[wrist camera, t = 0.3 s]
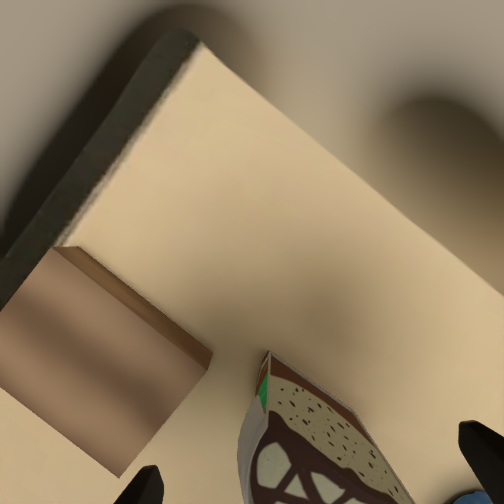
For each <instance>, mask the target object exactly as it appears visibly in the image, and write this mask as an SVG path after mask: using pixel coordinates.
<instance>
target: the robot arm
mask: <svg viewBox="0 0 504 504" xmlns="http://www.w3.org/2000/svg"><path fill="white" fill-rule="evenodd" d="M458 444H459V448H460V450H461V452H462V454H463V456H464V457H465V459H466V460H467V462H468V464H469V465H470V467H471V469H472V470H473V472H474V473H475V475H476V477H477V478H478V480H479V482H480V483H481V485H482V486H483V488H484V490H485V491H486V493H487V494H488V496H489V498H490V499H491V501H492V503H493V504H504V437H503V436H502V435H500V434H498V433H497V432H495V431H493V430H491V429H490V428H488V427H486V426H485V425H483V424H481V423H480V422H478V421H475V420H469V421H462V422H460V423H459V435H458ZM163 495H164V484H163V481H162V478H161V475H160V472H159V469H158V467H157V466H156V465H150V466H144V467H142V468H141V469H140V470H139V472H138V473H137V474H136V475H135V477H134V478H133V479H132V481H131V482H130V483H129V484H128V486H127V487H126V488H125V490H124V491H123V492H122V493H121V495H120V496H119V497H118V498H117V500H116V501H115V502H114V504H162V501H163Z"/></svg>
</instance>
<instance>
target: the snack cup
mask: <svg viewBox="0 0 504 504" xmlns="http://www.w3.org/2000/svg"><path fill="white" fill-rule="evenodd" d="M453 504H493V503H492V501H491V499H490V498H489V496H488V494H487V493H485V492H482V491H475V493H474V494H467V495H464V496H462V497H461V498H458V499H457V500H456V501H455V502H454V503H453Z"/></svg>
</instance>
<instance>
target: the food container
mask: <svg viewBox="0 0 504 504" xmlns="http://www.w3.org/2000/svg"><path fill="white" fill-rule="evenodd" d="M237 461H238V472H239V478H240V484H241V490H242V496H243V500H244V504H415V502H414V501H413V499H412V498H411V496H410V495H409V493H408V492H407V490H406V489H405V487H404V486H403V484H402V483H401V481H400V480H399V478H398V477H397V475H396V474H395V472H394V471H393V469H392V468H391V466H390V465H389V463H388V462H387V460H386V459H385V457H384V456H383V454H382V453H381V451H380V450H379V448H378V447H377V445H376V444H375V442H374V441H373V439H372V438H371V436H370V435H369V433H368V432H367V430H366V429H365V427H364V426H363V424H362V423H361V421H360V420H359V418H358V417H357V415H356V414H355V412H354V411H353V410H352V409H350V408H349V407H348V406H346V405H345V404H343V403H342V402H341V401H339V400H338V399H336V398H335V397H334V396H332V395H331V394H329V393H328V392H327V391H325V390H324V389H322V388H321V387H319V386H318V385H317V384H315V383H314V382H312V381H311V380H310V379H308V378H307V377H305V376H304V375H303V374H301V373H300V372H298V371H297V370H296V369H294V368H293V367H291V366H290V365H289V364H287V363H286V362H284V361H283V360H282V359H280V358H279V357H277V356H276V355H275V354H273V353H272V352H270V351H268V353H267V354H266V356H265V358H264V359H263V361H262V364H261V368H260V371H259V375H258V379H257V387H256V395H255V399H254V401H253V402H252V404H251V406H250V407H249V409H248V411H247V414H246V416H245V418H244V421H243V423H242V427H241V431H240V435H239V439H238V451H237Z"/></svg>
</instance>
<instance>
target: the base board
mask: <svg viewBox="0 0 504 504" xmlns="http://www.w3.org/2000/svg"><path fill="white" fill-rule="evenodd" d="M212 355H213V353H212V352H211V351H209V350H208V349H207V348H206V347H204V346H203V345H202V344H201V343H199V342H198V341H197V340H195V339H194V338H193V337H192V336H190V335H189V334H188V333H187V332H185V331H184V330H183V329H182V328H180V327H179V326H178V325H177V324H175V323H174V322H173V321H172V320H170V319H169V318H168V317H167V316H165V315H164V314H163V313H161V312H160V311H159V310H158V309H156V308H155V307H154V306H153V305H151V304H150V303H149V302H148V301H146V300H145V299H144V298H143V297H141V296H140V295H139V294H138V293H136V292H135V291H134V290H133V289H131V288H130V287H129V286H127V285H126V284H125V283H124V282H122V281H121V280H120V279H119V278H117V277H116V276H115V275H114V274H112V273H111V272H110V271H109V270H107V269H106V268H105V267H104V266H102V265H101V264H100V263H99V262H97V261H96V260H95V259H93V258H92V257H91V256H90V255H88V254H87V253H86V252H85V251H83V250H82V249H81V248H80V247H51V248H50V249H49V251H48V252H47V253H46V254H45V256H44V257H43V258H42V260H41V261H40V262H39V263H38V265H37V266H36V267H35V268H34V270H33V271H32V272H31V274H30V275H29V276H28V277H27V279H26V280H25V281H24V283H23V284H22V285H21V286H20V288H19V289H18V290H17V292H16V293H15V294H14V295H13V297H12V298H11V299H10V300H9V302H8V303H7V304H6V306H5V307H4V308H3V309H2V311H1V312H0V387H1V388H2V389H3V390H5V391H6V392H7V393H9V394H10V395H11V396H13V397H14V398H15V399H16V400H18V401H19V402H20V403H22V404H23V405H24V406H26V407H27V408H28V409H29V410H31V411H32V412H33V413H35V414H36V415H37V416H39V417H40V418H41V419H42V420H44V421H45V422H46V423H48V424H49V425H50V426H52V427H53V428H54V429H55V430H57V431H58V432H59V433H61V434H62V435H63V436H65V437H66V438H67V439H68V440H70V441H71V442H72V443H74V444H75V445H76V446H78V447H79V448H80V449H81V450H83V451H84V452H85V453H87V454H88V455H89V456H91V457H92V458H93V459H94V460H96V461H97V462H98V463H100V464H101V465H102V466H104V467H105V468H106V469H107V470H109V471H110V472H111V473H113V474H114V475H115V476H117V477H118V478H120V476H121V475H122V474H123V473H124V471H125V470H126V469H127V468H128V467H129V465H130V464H131V463H132V462H133V460H134V459H135V458H136V457H137V456H138V454H139V453H140V452H141V451H142V449H143V448H144V447H145V446H146V445H147V443H148V442H149V441H150V440H151V438H152V437H153V436H154V435H155V434H156V432H157V431H158V430H159V429H160V428H161V426H162V425H163V424H164V423H165V421H166V420H167V419H168V418H169V417H170V415H171V414H172V413H173V412H174V410H175V409H176V408H177V407H178V406H179V404H180V403H181V402H182V401H183V399H184V398H185V397H186V396H187V395H188V393H189V392H190V391H191V390H192V389H193V387H194V386H195V385H196V384H197V382H198V381H199V380H200V379H201V378H202V376H203V375H204V374H205V373H206V371H207V370H208V367H209V364H210V361H211V358H212Z"/></svg>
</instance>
